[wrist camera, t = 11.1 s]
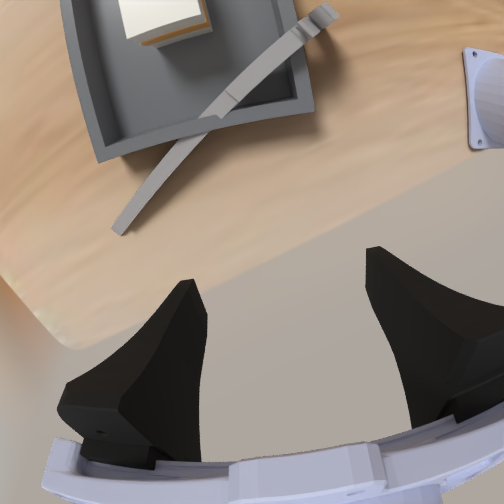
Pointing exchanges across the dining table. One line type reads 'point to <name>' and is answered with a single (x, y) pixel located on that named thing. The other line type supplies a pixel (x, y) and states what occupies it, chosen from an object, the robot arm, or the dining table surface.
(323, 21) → the caliper
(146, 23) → the white block
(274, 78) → the tray
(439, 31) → the dining table surface
